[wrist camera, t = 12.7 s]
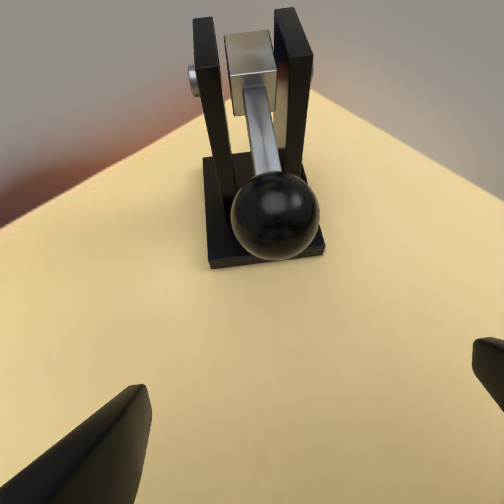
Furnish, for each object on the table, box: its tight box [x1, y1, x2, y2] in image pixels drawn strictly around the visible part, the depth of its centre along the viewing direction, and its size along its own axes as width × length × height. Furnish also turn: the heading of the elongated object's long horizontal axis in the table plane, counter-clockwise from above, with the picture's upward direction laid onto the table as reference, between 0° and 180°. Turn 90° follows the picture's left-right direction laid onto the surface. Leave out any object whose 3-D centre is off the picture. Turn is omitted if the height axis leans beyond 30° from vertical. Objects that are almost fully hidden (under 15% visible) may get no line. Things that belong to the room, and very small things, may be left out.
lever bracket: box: [188, 7, 325, 269], centre depth 19 cm, size 10×8×12 cm
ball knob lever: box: [224, 30, 320, 260], centre depth 14 cm, size 11×4×4 cm, turn 7°
